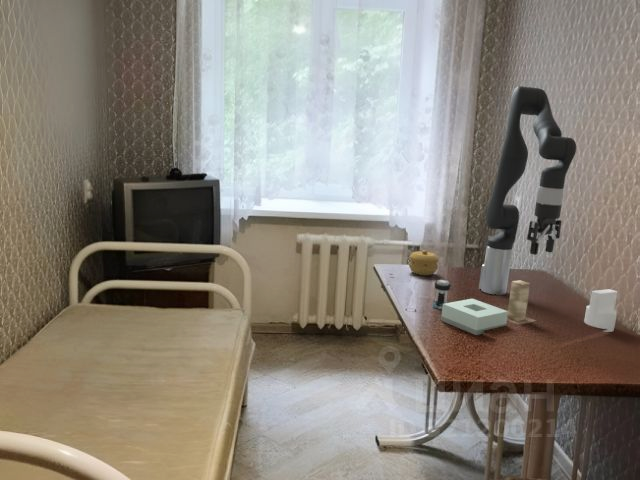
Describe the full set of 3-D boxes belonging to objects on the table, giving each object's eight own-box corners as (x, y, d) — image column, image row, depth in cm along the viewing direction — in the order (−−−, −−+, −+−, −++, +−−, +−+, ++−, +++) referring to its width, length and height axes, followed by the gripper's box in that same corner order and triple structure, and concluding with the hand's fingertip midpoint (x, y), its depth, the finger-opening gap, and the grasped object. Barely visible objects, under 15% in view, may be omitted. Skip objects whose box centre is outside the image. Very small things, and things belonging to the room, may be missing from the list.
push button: (452, 309, 201) (455, 281, 199) (451, 314, 196) (455, 285, 194) (432, 306, 202) (435, 278, 200) (430, 311, 197) (434, 282, 195)
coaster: (495, 318, 195) (495, 315, 194) (512, 315, 200) (512, 312, 200) (518, 327, 188) (519, 324, 187) (535, 323, 193) (536, 320, 193)
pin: (506, 317, 194) (511, 281, 192) (514, 315, 196) (519, 280, 194) (517, 321, 191) (522, 284, 188) (524, 319, 193) (530, 283, 191)
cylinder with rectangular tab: (601, 333, 188) (607, 296, 186) (577, 323, 196) (583, 288, 194) (620, 330, 193) (626, 294, 190) (596, 321, 200) (602, 286, 198)
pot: (430, 279, 238) (433, 255, 236) (403, 274, 244) (405, 250, 242) (440, 274, 248) (443, 250, 246) (414, 268, 254) (416, 245, 252)
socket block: (440, 320, 189) (442, 303, 188) (470, 314, 197) (472, 298, 196) (476, 335, 178) (478, 317, 177) (505, 328, 186) (508, 311, 185)
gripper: (550, 199, 193) (543, 248, 196) (525, 200, 184) (517, 252, 188) (572, 203, 187) (564, 253, 190) (547, 204, 178) (538, 257, 182)
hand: (541, 253), depth 189 cm, fingers open, 8 cm apart
